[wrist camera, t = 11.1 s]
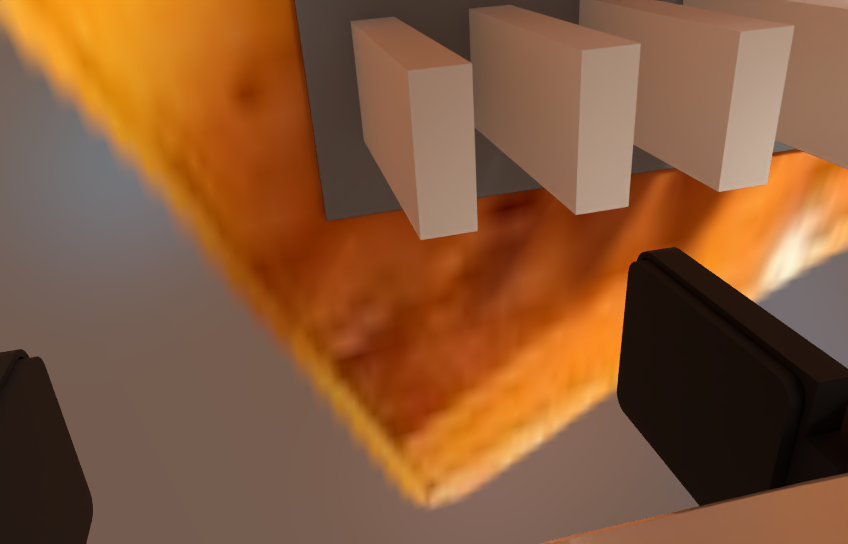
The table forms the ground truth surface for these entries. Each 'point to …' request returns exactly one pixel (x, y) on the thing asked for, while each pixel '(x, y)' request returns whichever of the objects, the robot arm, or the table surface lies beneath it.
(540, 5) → the mat
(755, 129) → the domino
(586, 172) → the domino
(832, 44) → the domino
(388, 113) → the domino
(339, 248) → the table surface
